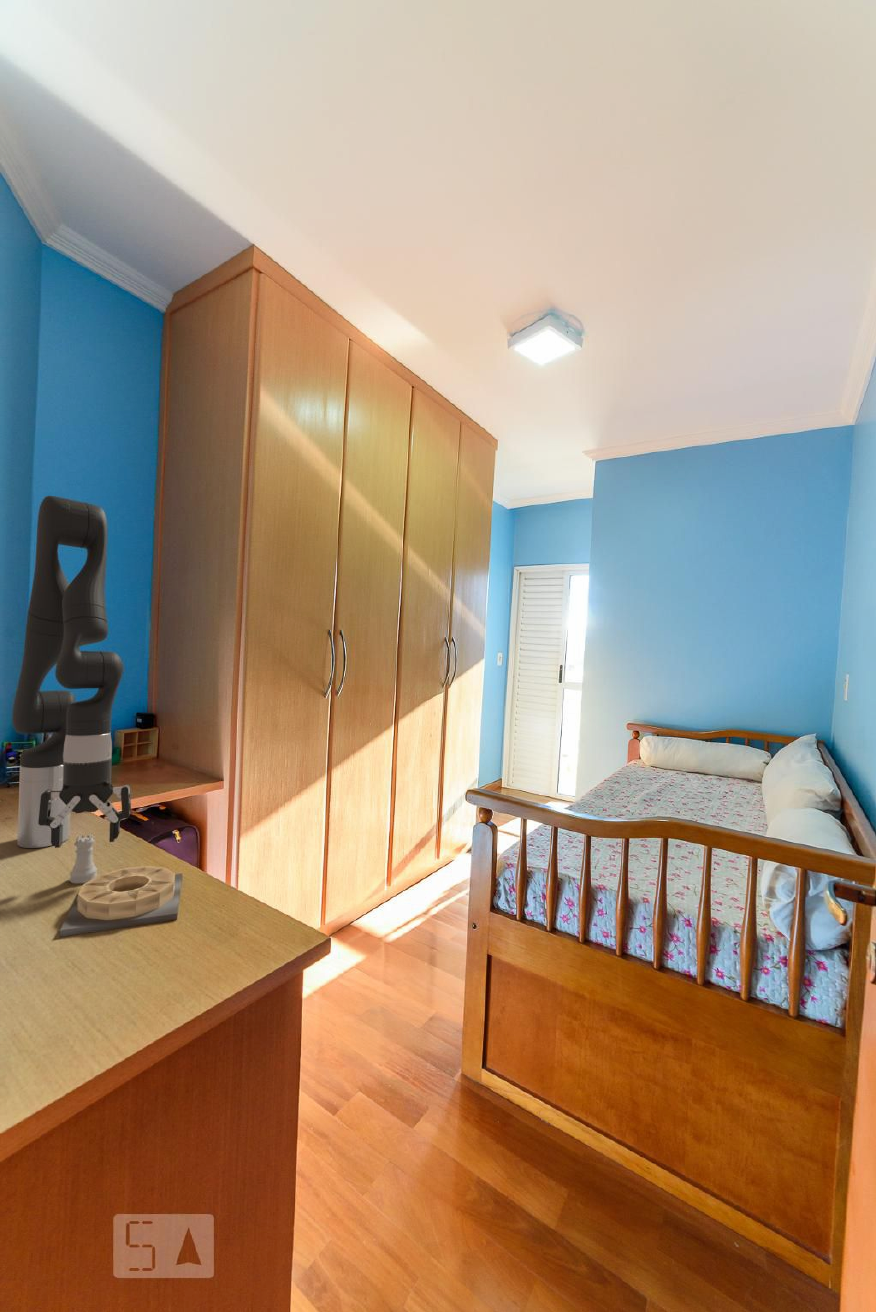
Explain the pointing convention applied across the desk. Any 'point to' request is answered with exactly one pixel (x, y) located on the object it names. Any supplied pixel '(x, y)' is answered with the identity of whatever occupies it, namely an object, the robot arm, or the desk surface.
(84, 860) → the rook chess piece
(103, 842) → the desk surface
